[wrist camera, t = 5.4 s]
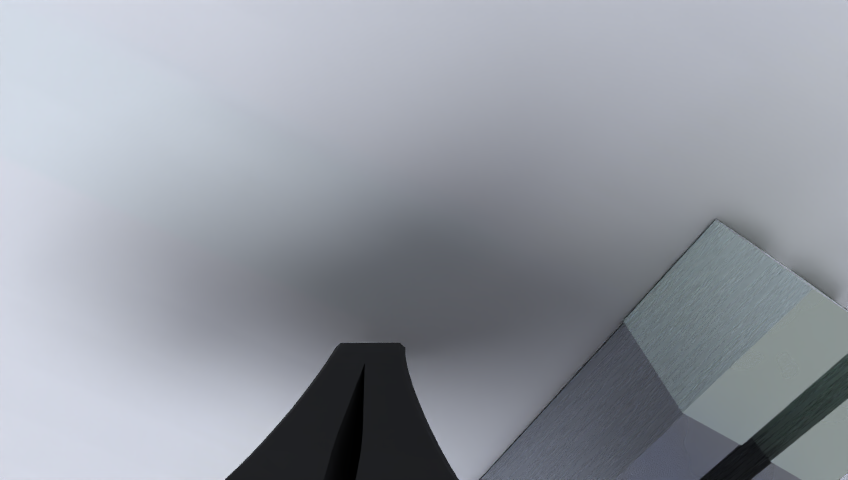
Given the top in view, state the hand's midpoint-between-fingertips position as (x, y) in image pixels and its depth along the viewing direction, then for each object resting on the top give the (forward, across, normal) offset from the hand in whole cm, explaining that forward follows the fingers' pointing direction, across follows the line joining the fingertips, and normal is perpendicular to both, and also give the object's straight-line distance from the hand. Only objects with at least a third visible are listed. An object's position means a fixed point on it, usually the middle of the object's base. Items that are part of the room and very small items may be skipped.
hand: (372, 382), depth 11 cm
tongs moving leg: (+1, -4, +3) cm, 6 cm away
